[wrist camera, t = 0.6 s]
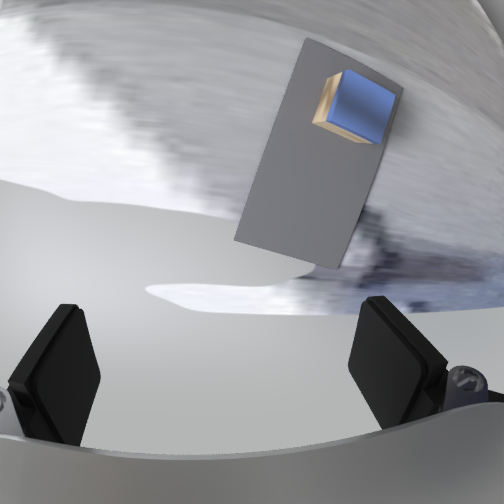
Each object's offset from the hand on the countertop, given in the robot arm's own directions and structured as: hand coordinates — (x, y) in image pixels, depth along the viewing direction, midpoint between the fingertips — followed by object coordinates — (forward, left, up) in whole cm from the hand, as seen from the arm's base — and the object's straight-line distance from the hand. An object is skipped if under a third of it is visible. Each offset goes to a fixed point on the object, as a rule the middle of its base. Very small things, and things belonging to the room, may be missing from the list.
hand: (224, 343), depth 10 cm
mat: (-9, +11, -28) cm, 31 cm away
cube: (-15, +11, -27) cm, 33 cm away
